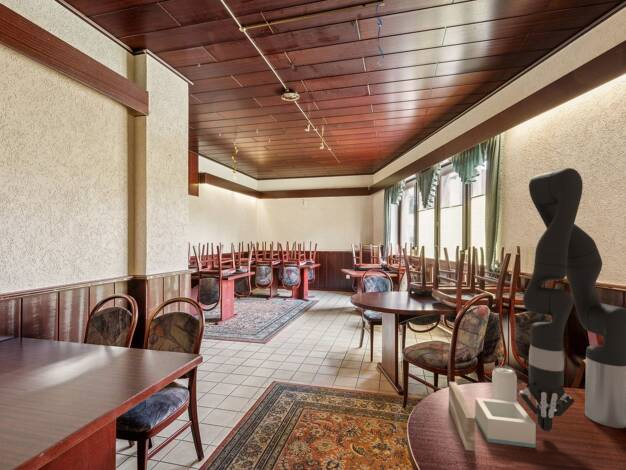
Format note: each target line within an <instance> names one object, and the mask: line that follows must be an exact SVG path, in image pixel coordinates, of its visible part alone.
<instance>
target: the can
mask: <svg viewBox="0 0 626 470" xmlns="http://www.w3.org/2000/svg"><path fill="white" fill-rule="evenodd" d="M491 376H492V377H491V379H492V380H491V399H494V400H504V401H514V402H517V395H518V388H517V387H518V386H517V383H518V381H517V379H518V378H517V377H518V376H517V374H516V371H515V370H514V369H513V368H510V367H508V366H505V365H496V366H494V367H493V370H492V374H491Z"/></svg>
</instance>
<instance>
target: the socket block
mask: <svg viewBox="0 0 626 470" xmlns="http://www.w3.org/2000/svg"><path fill="white" fill-rule="evenodd" d="M474 398H475V401H474V417H475V422H476V423H477V425H478V427H479V428H480V430H481V433H482V434H483V436H484V439H485V440H486V442H487V443H493V444H501V445H510V446H517V447H526V448H534V449H536V436H537V435H536V433H537V432H536V429H537V428H536V427H537V426H536V423H535V421H534V420H533V419H532V418H531V416H530V415H529V414H528V413H527V411H525V409H524V408H523V406H521V404H519V402H518V401H516V402H514V401H504V400H494V399H492V398H484V397H483V398H482V397H474Z"/></svg>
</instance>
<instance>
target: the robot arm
mask: <svg viewBox="0 0 626 470" xmlns="http://www.w3.org/2000/svg"><path fill="white" fill-rule="evenodd" d="M583 183H584V182H583V179H582V176H581V174H580V173H579V172H578V170H577V169H575V168H571V167H568V168H567V167H566V168H562V169H557V170H552V171H548V172H545V173H541V174H537V175H534V176H532V177H531V179H530V181H529V182H528V191H529V196H530V198H531V201H532V203H533V204H534V206H535V208H536V210H537V212H538V214H539V216H540V218H541V220H542V222H543V223H544V225H545V228H546V230H545V231H544V232H543V234H542V235H541V237H540V238H539V240H538V242H537V245H536V248H535V255H534V264H533V272H532V275H531V277H530V280H529V283H528V284H527V287H526V288H525V291H524V294H523V296H522V303H523V306H524V308H525V309H526V310H527V311H528V312H529V313H533V314H534V313H535V314H540V315H545V316H551V317H553V319H552V321H547V322H546V321H537V322H534V323H532V324H531V326H530V342H529V343H530V346H529V349H528V382H527V384H526V388H524V389H517V395H519V396H520V397H521V399H522V400H523V402H525V404H526V405H527V406H528V408H529V409H530V410H531V411H532V413H534V414H535V415H537V425H538V426H539V428H540V429H541V430H542V431H543V432H548V433H549V432H551V430H552V429H553V418H554V417H561V416H562V415H563V414H564V413H565V412H567V410H568V409H569V408H570V407H571V406H572V405H573V404H574V403H575V399H574V398H572V397H571V396H570V395H569V394H568V393H566V390H565V388H564V383H565V379H564V377H565V376H564V375H565V355H564V335H565V328H566V324H567V321H568V319H569V317H570V314H571V311H572V309H573V306H575V310H576V313H577V318H578V321H579V323H580V324H581V326H582V327H583V329H585V331H587V332H589V333H592V334H595V335H598V336H602V337H604V341H603V344H601V345H600V344H597V345H595V344H594V345H592V344H591V345H589V346H587V347H586V350H585V383H584V384H585V385H584V386H585V389H584V390H585V391H584V392H585V393H584V397H585V398H584V414H585V416H586V417H587V418H588V419H589V420H592V421H593V422H595V423H596V424H599V425H602V426H606V427H610V428H614V429H625V428H626V308H625V307H622V306H616V305H611V304H607V303H602V302H601V301H600V299H599V297H598V295H597V291H596V283H597V280H598V279H599V276H600V274H601V271H602V268H603V260H602V257H601V254H600V251H599V248H598V246H597V243H596V242H595V240H594V239H593V237H592V236H590V235H589V234H588V233H587V232H586V231H585V230H583V229H582V228H580V226H578V225H577V224H575V221H576V218H577V215H578V211H579V206H580V203H581V199H582V196H583V195H582V194H583V187H584V184H583ZM565 278H566V280H567V283H568V285H569V288H570V291H571V294H572V295H571V294H570V292H568V291H567V290H565V289H559V288H552V287H551V288H550V287H544V285H545V283H547V282H550V281H559V280H563V279H565ZM531 396H532V397H533V398H534V400H535V404H536V406H535V405H534V403H533V401H532V400H531Z"/></svg>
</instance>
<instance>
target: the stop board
mask: <svg viewBox="0 0 626 470" xmlns="http://www.w3.org/2000/svg"><path fill="white" fill-rule="evenodd" d="M448 411H449V412H450V415H451V416H452V420H453V422H454V424H455V427H456V429H457V431H458V434H459V437H460V439H461V441H462V443H463V446H464V449H465V451H471V452H476V446H475V445H476V440H475V439H476V419H475V414H473V411H472V410H471V407H470V406H469V404H468V402H467V401H466V399H465V396H464V395H463V393H462V391H461V389H460V388H459V385H458V383H457V382H455V381H448Z"/></svg>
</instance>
